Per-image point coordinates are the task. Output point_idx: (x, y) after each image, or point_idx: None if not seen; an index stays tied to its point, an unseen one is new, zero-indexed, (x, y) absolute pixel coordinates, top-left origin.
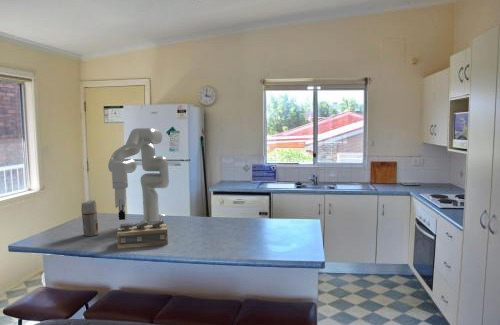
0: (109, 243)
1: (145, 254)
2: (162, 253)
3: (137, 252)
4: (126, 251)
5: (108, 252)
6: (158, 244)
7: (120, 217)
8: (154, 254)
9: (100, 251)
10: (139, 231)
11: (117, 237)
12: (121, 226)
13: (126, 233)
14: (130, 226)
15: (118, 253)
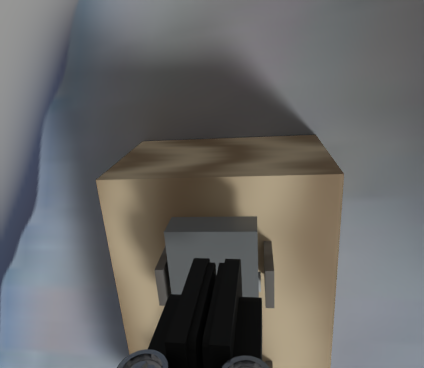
0: (299, 62)
1: (19, 291)
2: (30, 358)
3: (54, 255)
4: (79, 197)
5: (70, 83)
6: None
7: (167, 302)
8: (17, 327)
9: (99, 16)
10: (130, 347)
11: (112, 167)
12: (167, 239)
13: (113, 252)
14: None
15: (44, 152)
